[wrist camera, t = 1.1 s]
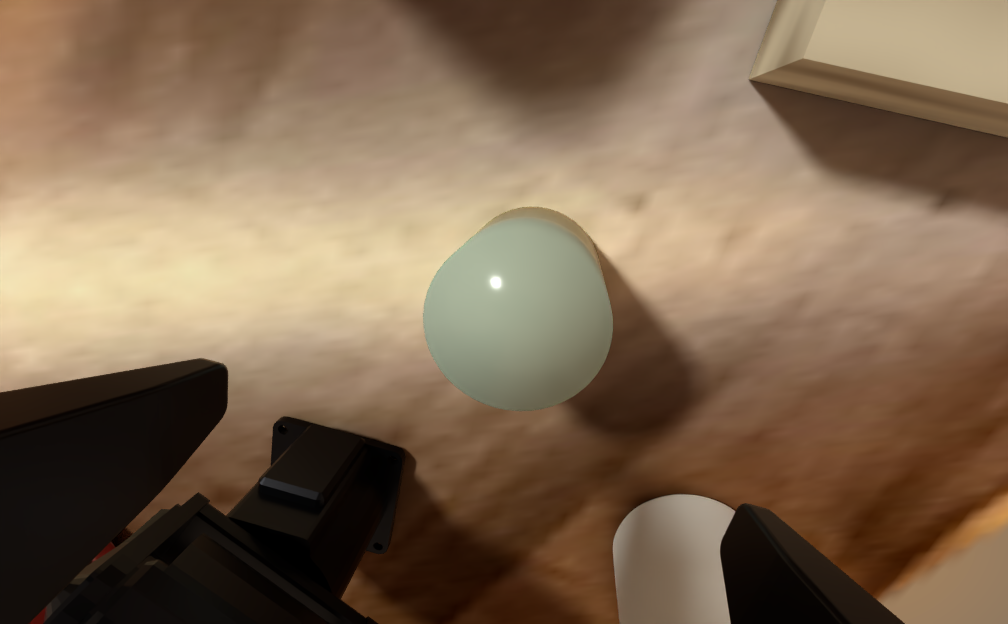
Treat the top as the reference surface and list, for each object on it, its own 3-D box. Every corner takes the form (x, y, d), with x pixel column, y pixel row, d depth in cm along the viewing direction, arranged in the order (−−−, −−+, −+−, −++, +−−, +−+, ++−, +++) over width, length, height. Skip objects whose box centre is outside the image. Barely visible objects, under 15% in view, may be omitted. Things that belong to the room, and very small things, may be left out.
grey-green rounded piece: (579, 352, 20) (582, 430, 14) (454, 319, 20) (410, 384, 15) (617, 225, 18) (639, 259, 13) (480, 191, 18) (440, 210, 13)
